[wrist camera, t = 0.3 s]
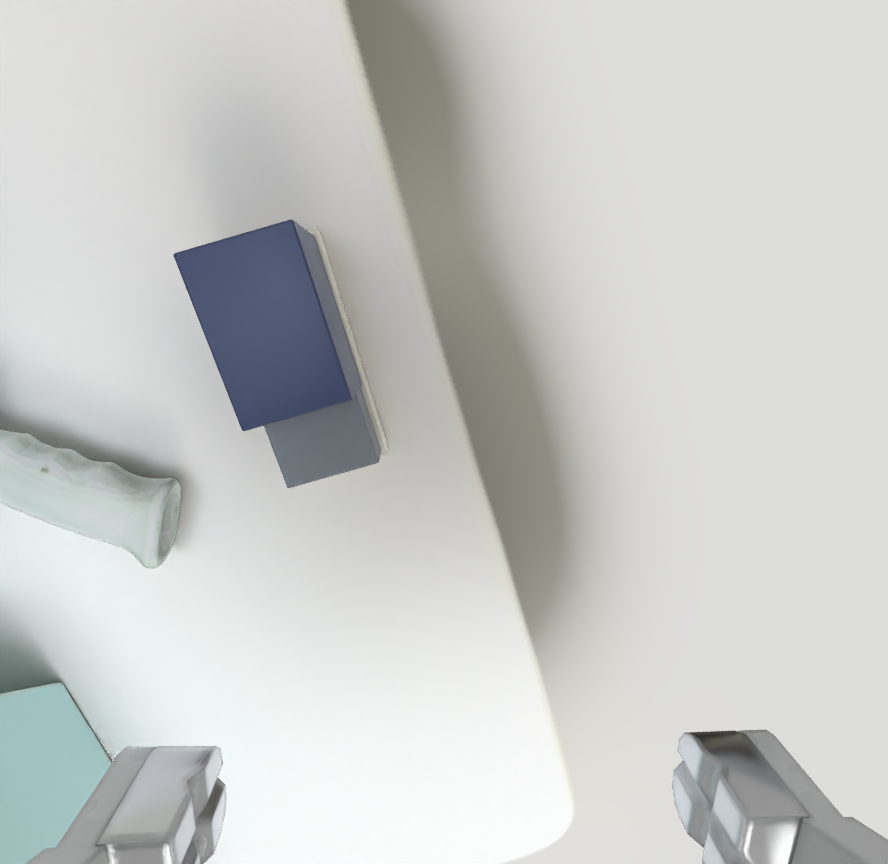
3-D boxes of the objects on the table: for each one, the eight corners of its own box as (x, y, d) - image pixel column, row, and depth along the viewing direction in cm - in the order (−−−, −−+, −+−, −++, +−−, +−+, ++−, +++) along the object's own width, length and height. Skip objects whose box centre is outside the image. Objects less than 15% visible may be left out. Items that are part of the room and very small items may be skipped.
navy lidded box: (221, 259, 21) (165, 245, 17) (319, 231, 21) (291, 208, 17) (300, 471, 24) (271, 513, 19) (388, 446, 24) (381, 481, 19)
